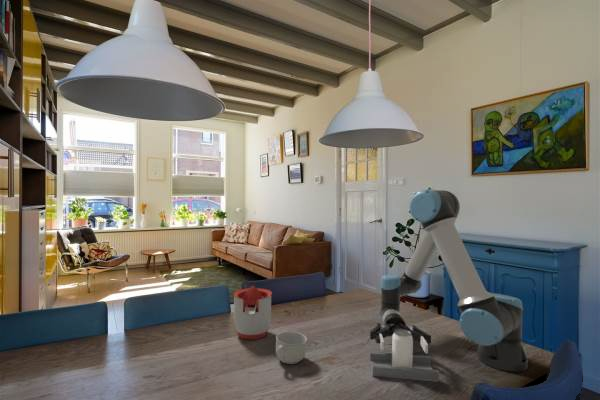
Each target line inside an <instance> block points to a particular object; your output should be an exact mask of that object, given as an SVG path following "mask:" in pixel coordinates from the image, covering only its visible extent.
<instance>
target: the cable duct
mask: <svg viewBox="0 0 600 400" xmlns="http://www.w3.org/2000/svg"><path fill="white" fill-rule="evenodd" d="M431 359H432V358H431V356H430V355H417V354H413V365H412V368H403V367H392V352H376V351H370V352H369V362H370V369H371V374H372V378H373V377H375V378H387V379H398V380H399V379H401V380H410V381H411V380H412V381H422V382H423V381H424V382H437V383H438V382H439V379H440V377H439V376H440V371H439V370H438V369H433V367H432V365H431V363H432V361H431Z"/></svg>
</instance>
